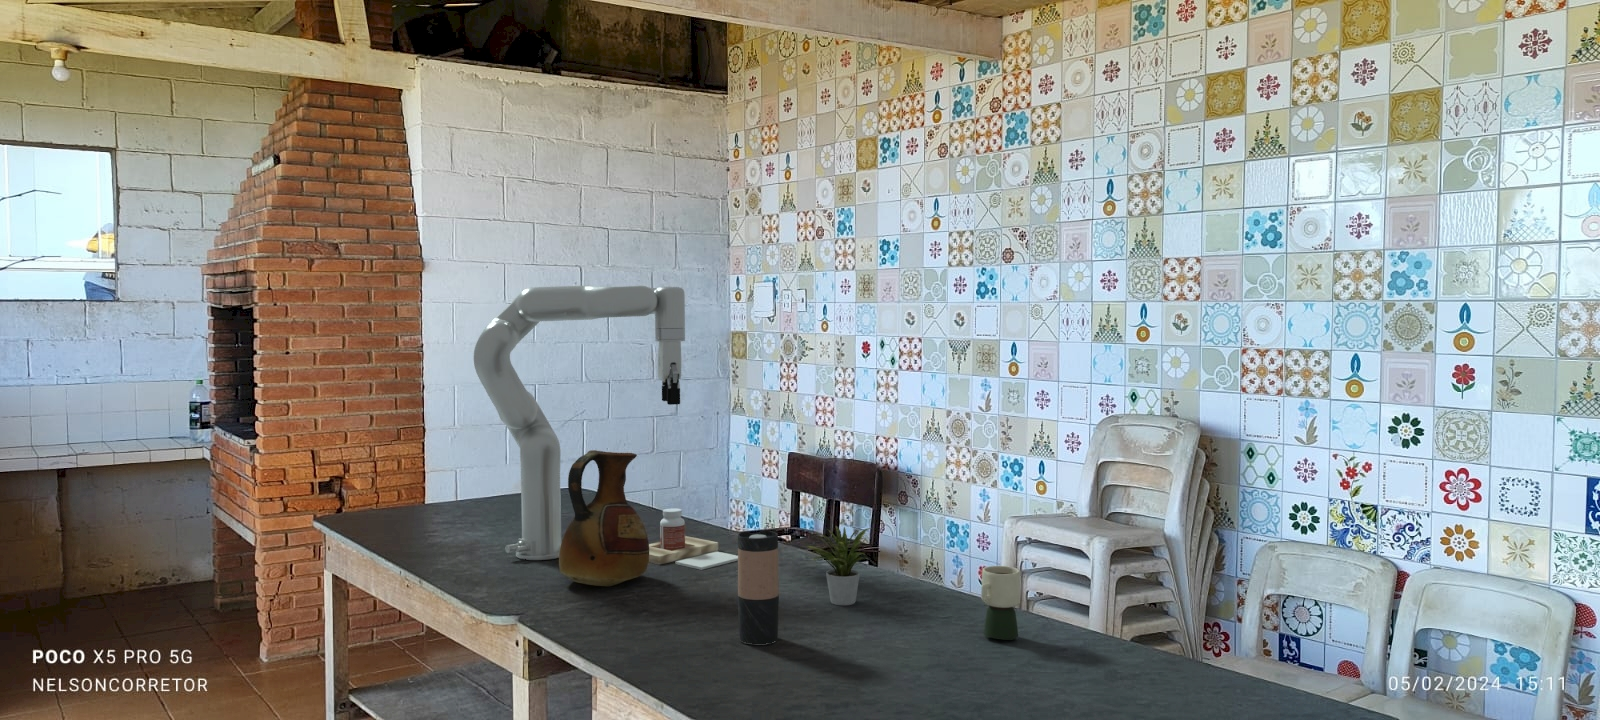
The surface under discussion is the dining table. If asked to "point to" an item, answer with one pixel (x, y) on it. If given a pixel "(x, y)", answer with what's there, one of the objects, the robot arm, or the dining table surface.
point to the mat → (708, 560)
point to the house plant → (842, 567)
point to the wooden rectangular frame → (681, 550)
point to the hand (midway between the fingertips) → (670, 402)
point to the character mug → (1001, 601)
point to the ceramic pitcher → (603, 526)
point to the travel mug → (758, 587)
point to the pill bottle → (672, 530)
